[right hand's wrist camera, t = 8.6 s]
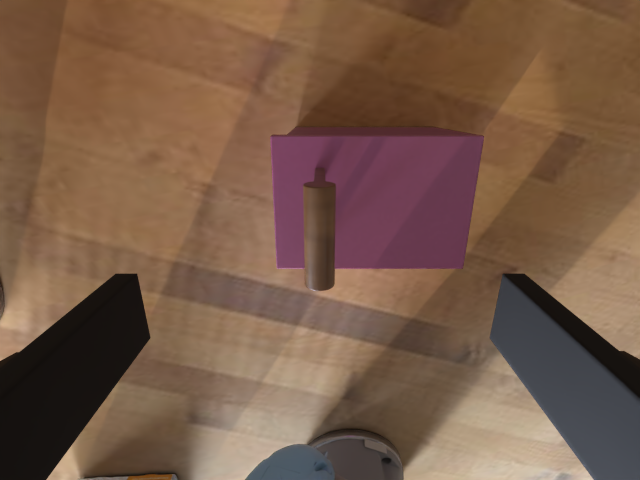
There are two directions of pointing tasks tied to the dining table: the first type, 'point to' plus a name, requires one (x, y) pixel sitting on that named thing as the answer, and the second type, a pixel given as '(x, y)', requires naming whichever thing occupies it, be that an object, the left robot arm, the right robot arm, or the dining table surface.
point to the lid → (372, 202)
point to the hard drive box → (137, 477)
